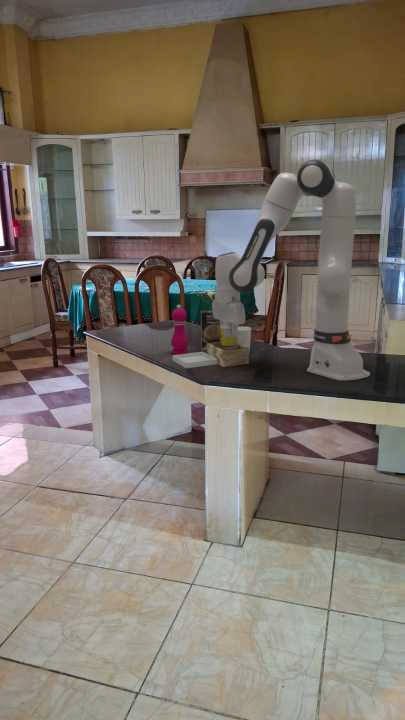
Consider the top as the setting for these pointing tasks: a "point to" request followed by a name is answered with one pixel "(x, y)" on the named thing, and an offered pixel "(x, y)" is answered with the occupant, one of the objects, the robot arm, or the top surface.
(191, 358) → the sage tray
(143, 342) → the top surface
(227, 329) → the pill bottle
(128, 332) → the top surface
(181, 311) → the pepper mill
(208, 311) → the coffee box
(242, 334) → the white cup
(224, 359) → the beech box
